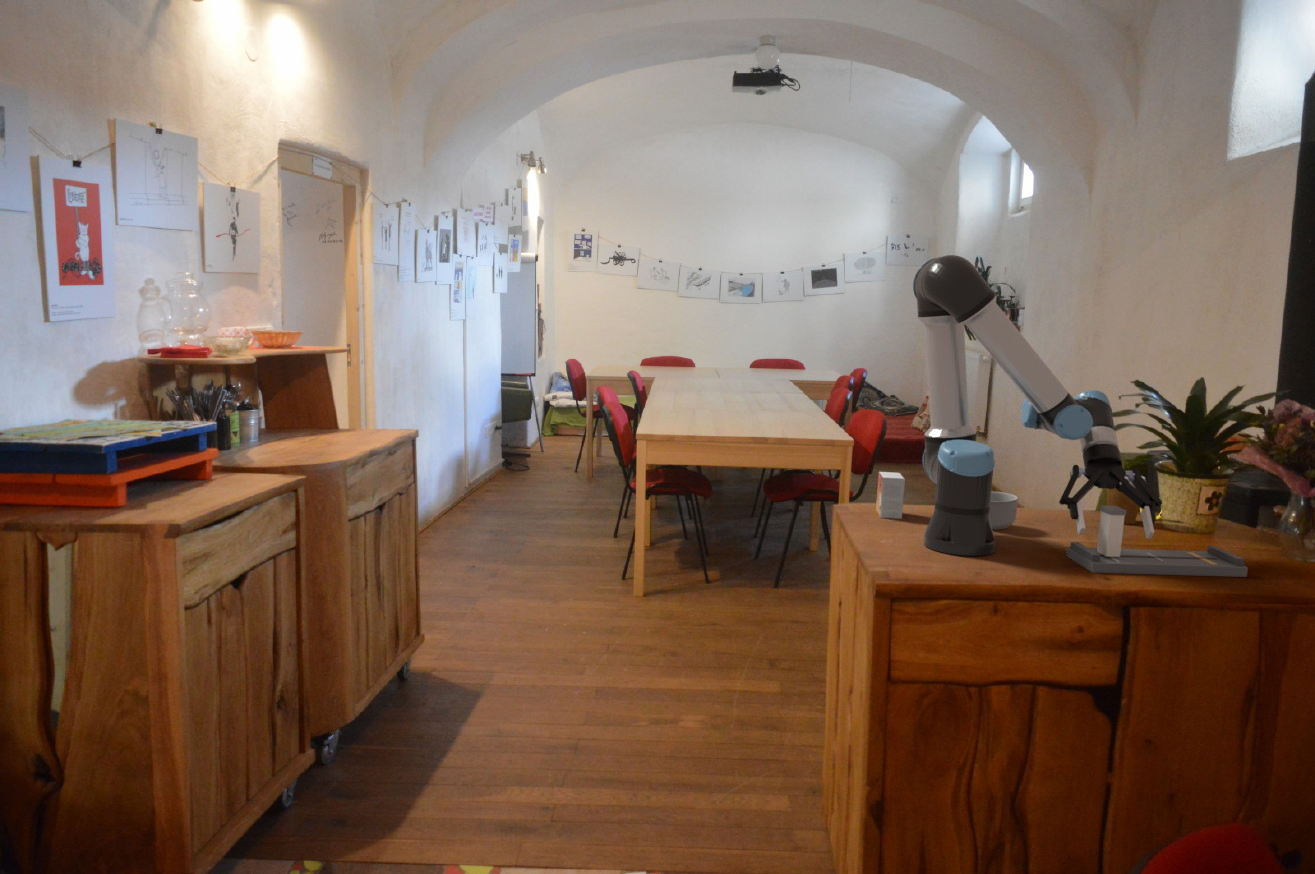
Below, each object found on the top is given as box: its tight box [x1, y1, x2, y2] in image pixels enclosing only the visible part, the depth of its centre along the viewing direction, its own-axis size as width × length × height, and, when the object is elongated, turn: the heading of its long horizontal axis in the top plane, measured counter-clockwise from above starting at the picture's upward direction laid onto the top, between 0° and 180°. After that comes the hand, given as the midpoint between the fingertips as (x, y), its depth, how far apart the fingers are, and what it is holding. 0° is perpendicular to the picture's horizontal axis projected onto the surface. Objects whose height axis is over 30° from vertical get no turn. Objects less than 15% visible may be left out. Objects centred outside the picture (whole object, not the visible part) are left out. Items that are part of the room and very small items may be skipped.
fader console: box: [1065, 541, 1249, 578], centre depth 194 cm, size 32×12×4 cm, turn 90°
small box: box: [875, 471, 906, 520], centre depth 233 cm, size 8×6×10 cm
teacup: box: [989, 490, 1019, 531], centre depth 226 cm, size 14×11×8 cm
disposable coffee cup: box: [1106, 475, 1148, 525], centre depth 234 cm, size 10×10×12 cm
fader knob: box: [1096, 504, 1127, 557], centre depth 193 cm, size 3×4×10 cm
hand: (1115, 533), depth 192 cm, fingers open, 13 cm apart
